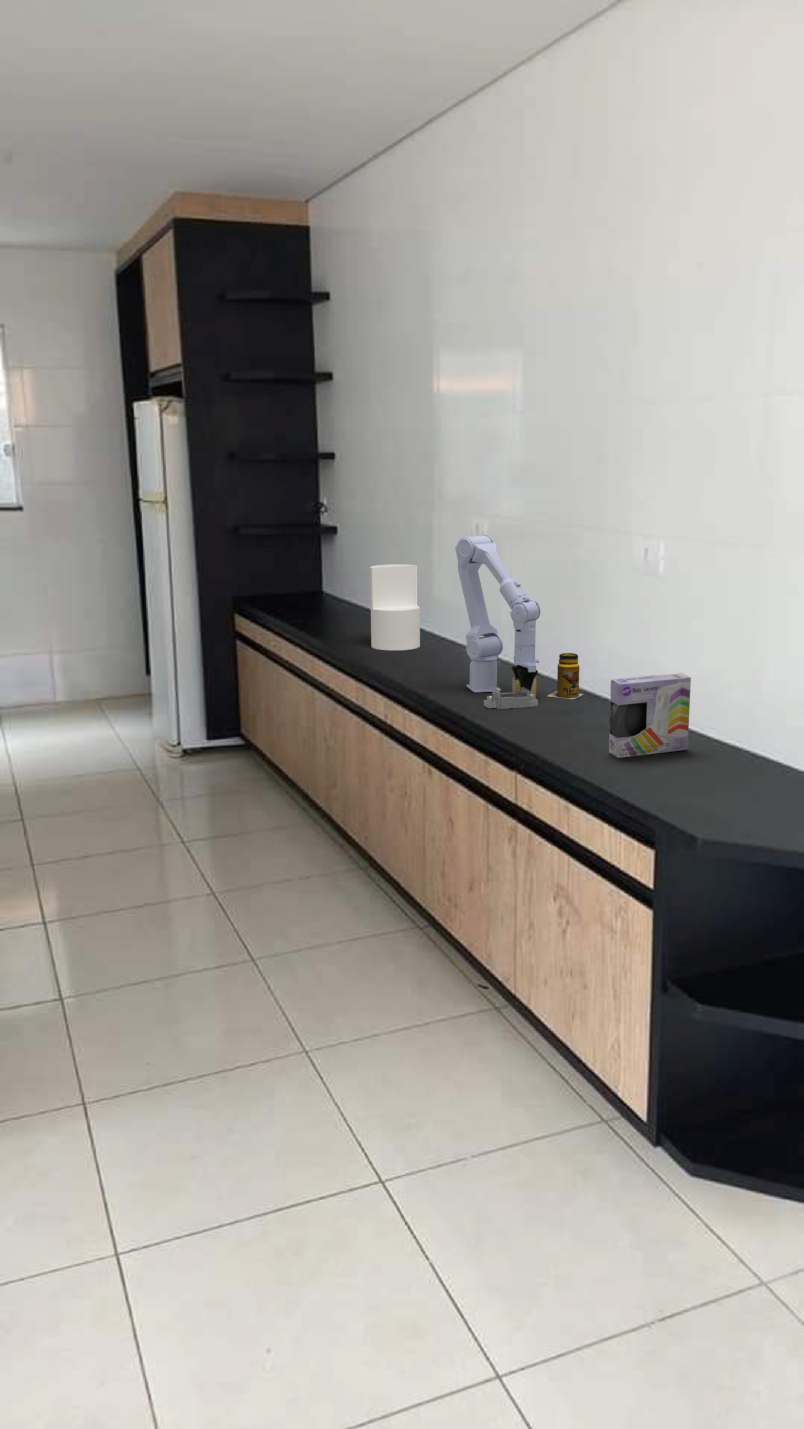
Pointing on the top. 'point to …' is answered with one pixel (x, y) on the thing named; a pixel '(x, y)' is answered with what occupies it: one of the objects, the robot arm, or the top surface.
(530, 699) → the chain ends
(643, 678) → the cake pan box
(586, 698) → the top surface
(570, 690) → the condiment
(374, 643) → the cylinder
